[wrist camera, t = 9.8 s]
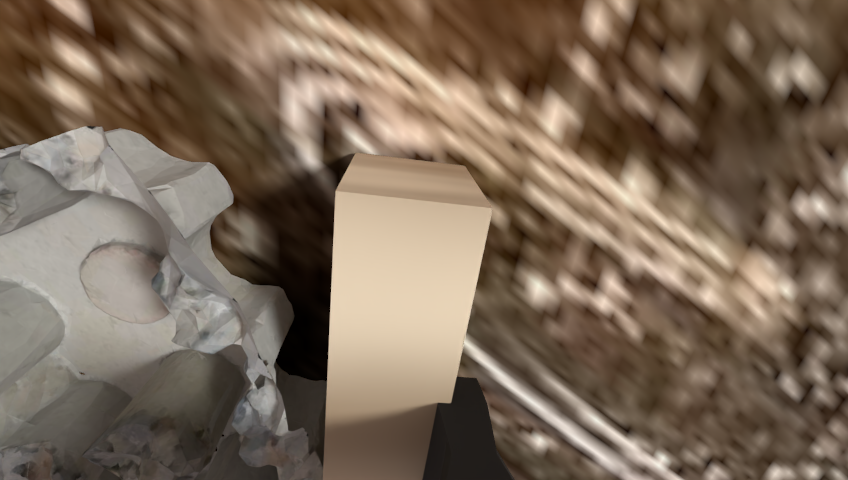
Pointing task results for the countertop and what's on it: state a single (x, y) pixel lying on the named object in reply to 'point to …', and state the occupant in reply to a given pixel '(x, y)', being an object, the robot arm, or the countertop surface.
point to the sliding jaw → (397, 310)
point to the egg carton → (137, 325)
